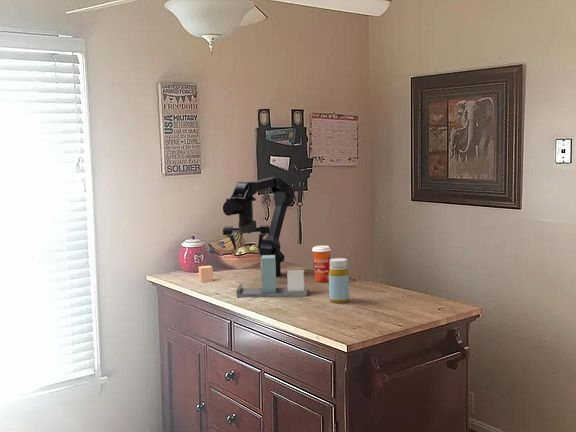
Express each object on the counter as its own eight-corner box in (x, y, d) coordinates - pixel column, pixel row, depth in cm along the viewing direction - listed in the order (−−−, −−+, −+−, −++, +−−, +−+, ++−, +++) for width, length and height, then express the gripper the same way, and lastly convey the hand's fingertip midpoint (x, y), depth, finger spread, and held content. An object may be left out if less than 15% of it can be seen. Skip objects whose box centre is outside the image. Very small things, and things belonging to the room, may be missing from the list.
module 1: (210, 279, 291) (210, 265, 290) (213, 281, 287) (212, 267, 286) (199, 280, 289) (198, 266, 288) (201, 282, 285) (200, 268, 284)
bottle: (351, 299, 249) (350, 258, 247) (346, 303, 242) (345, 261, 240) (332, 298, 251) (331, 257, 249) (327, 302, 244) (326, 261, 242)
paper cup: (310, 282, 278) (309, 248, 276) (316, 278, 285) (315, 244, 283) (328, 283, 275) (327, 248, 273) (334, 279, 282) (333, 245, 281)
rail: (236, 297, 257) (235, 275, 256) (240, 291, 267) (239, 270, 266) (306, 296, 255) (305, 274, 254) (307, 289, 265) (306, 268, 264)
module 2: (262, 288, 264) (261, 255, 263) (276, 288, 264) (275, 255, 262) (261, 292, 258) (260, 258, 257) (275, 292, 258) (274, 257, 256)
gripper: (220, 216, 270) (222, 255, 272) (268, 214, 271) (270, 253, 272) (223, 212, 281) (224, 250, 283) (269, 211, 282) (270, 249, 283)
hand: (247, 251), depth 280 cm, fingers open, 9 cm apart
